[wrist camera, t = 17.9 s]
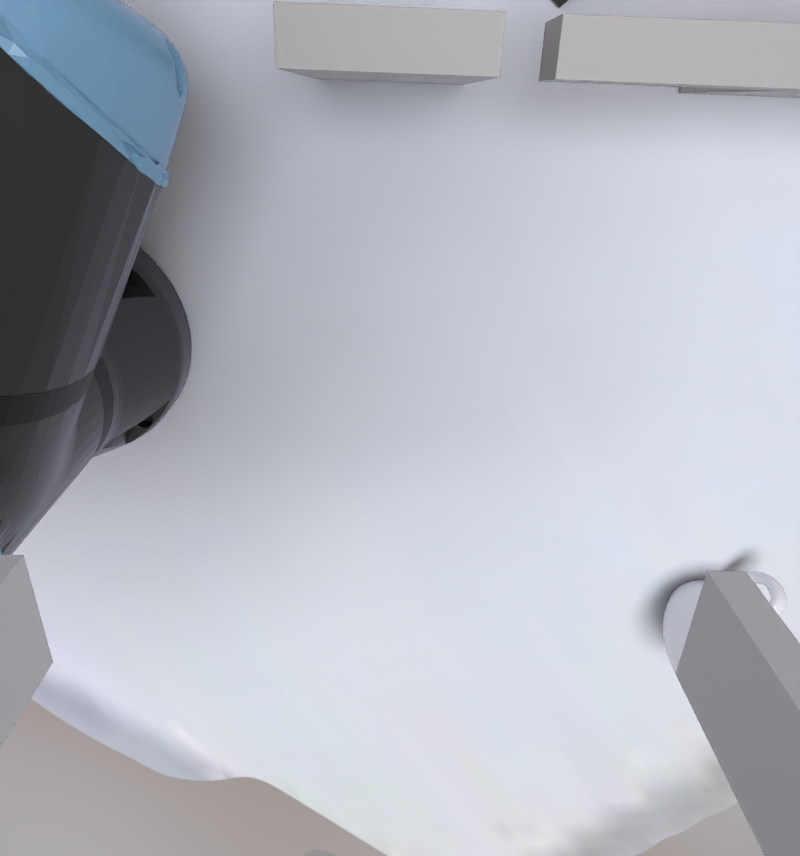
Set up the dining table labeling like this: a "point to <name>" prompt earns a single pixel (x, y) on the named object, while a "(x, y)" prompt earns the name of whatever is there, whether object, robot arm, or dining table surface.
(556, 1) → the phone stand
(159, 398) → the robot arm
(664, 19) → the wall
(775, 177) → the dining table surface
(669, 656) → the cup
